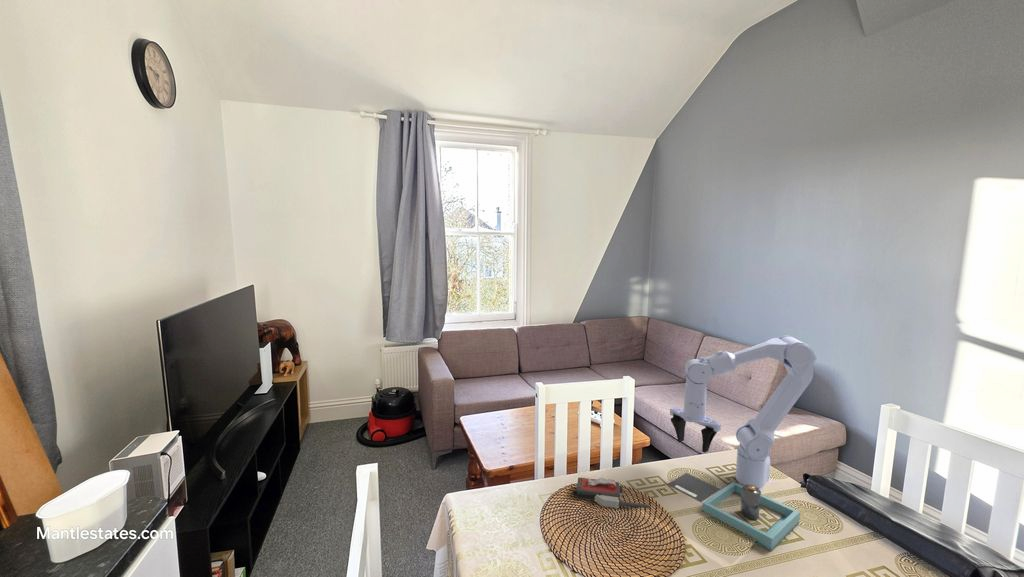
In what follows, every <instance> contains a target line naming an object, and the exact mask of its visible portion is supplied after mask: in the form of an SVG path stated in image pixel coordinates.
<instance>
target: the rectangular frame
mask: <svg viewBox="0 0 1024 577" xmlns="http://www.w3.org/2000/svg"><path fill="white" fill-rule="evenodd" d="M743 486H744V485H743V484H739V483H737V482H735V481H732V482H731V483H729V484H728V485H726V486H725V487H723V488H722V489H719V490H718V491H717V492H715V493H714V494H712V495H711V496H709V497H708V498H706V499H705V501H702V506H701V507H702V508H701V509H702V510H701V511H703V512H705V513H707V514H708V515H710V516H712V517H713V518H715V519H717V520H719V521H721V522H723V523H725V524H726V525H729V526H731V527H732V528H734V529H736V530H738V531H740V532H741V533H744V534H746V535H747V536H749V537H751V538H752V539H755V541H754V543H755V544H757V545H759V546H760V547H762V548H765V549H766V550H767V551H769V552H772V551H773V550H774V549H775V548H776V547H777V546H779V544H780V543H782V541H783V540H784V539H785V538H787V536H788V535H789V534H790V533H791V532H792V531H793V530H794V529H795V528H796V527H797V526H798V525H799V523H800V516H801V511H799V510H797V509H795V508H792V507H790V506H788V505H786V504H784V503H781V502H779V501H778V500H775V499H772V498H770V497H768V496H766V495H765V494H762V493H761V497H760V505H762V506H764V507H767V508H769V509H771V510H773V511H776V512H777V513H780V514H781V515H782V516H780V518H779V519H778V520H777V521H776V522H774V523H773V524H772V525H771V526H770V527H769V528H768V529H767V530H766V531H763V530H761V529H759V528H757V527H756V526H753V525H751V524H750V523H748V522H746V521H743V520H741V519H740V518H738V517H736V516H734V515H732V514H730V513H728V512H726V511H724V510H722V509H720V508H718V507H717V505H719V504H720V503H721V502H723V501H724V500H726V499H727V498H728V497H729V496H731V495H732V494H733V493H737V494H739V495H741V496H742V487H743Z"/></svg>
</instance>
